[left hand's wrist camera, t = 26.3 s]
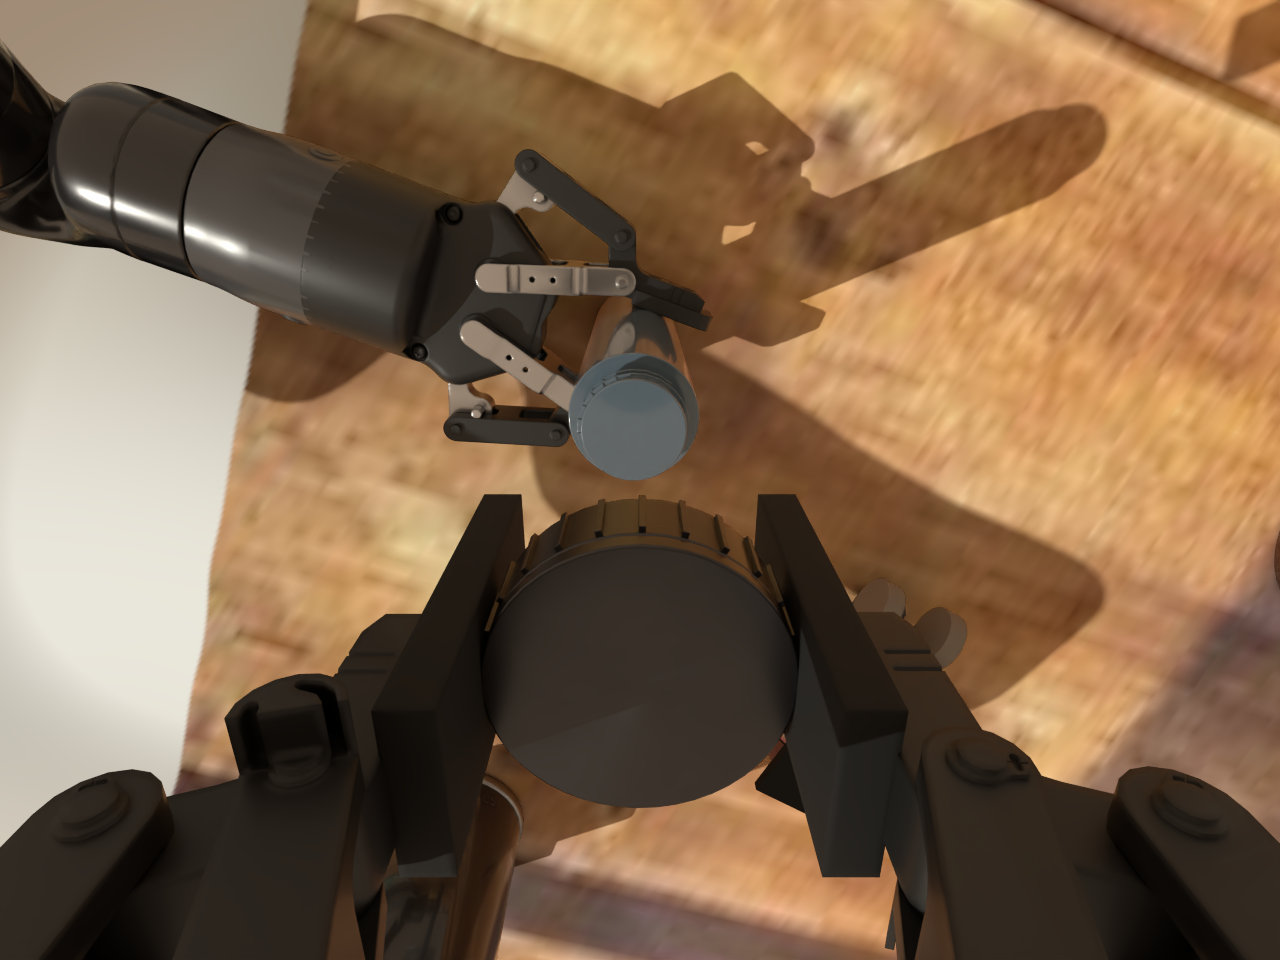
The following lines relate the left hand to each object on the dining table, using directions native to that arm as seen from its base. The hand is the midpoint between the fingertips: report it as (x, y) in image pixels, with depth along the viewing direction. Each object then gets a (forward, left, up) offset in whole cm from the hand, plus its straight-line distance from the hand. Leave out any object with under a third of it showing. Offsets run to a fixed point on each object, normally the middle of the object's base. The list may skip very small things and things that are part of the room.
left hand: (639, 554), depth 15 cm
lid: (0, 0, +4) cm, 4 cm away
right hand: (0, +2, -20) cm, 20 cm away
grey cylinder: (0, 0, -26) cm, 26 cm away
